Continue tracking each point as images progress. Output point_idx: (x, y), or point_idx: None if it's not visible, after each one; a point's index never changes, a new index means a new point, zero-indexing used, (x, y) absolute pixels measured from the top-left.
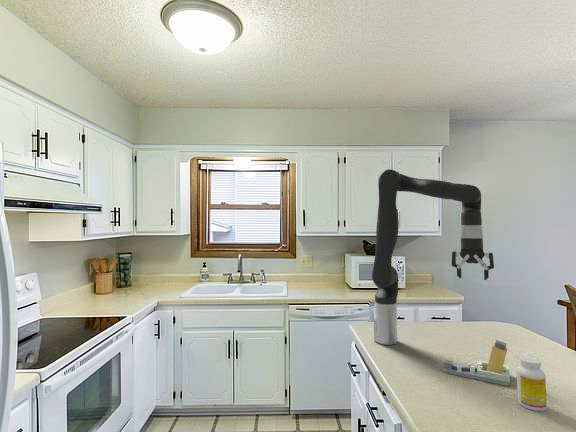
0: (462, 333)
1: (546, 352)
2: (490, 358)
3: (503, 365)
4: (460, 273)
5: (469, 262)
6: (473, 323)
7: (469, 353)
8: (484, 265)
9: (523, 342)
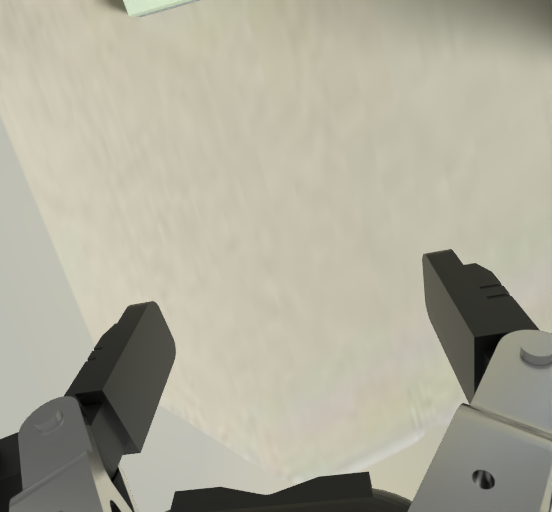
0: (394, 336)
1: None
2: None
3: (146, 6)
4: (450, 284)
5: (326, 495)
6: (384, 442)
7: (320, 148)
8: (46, 467)
9: (217, 364)
